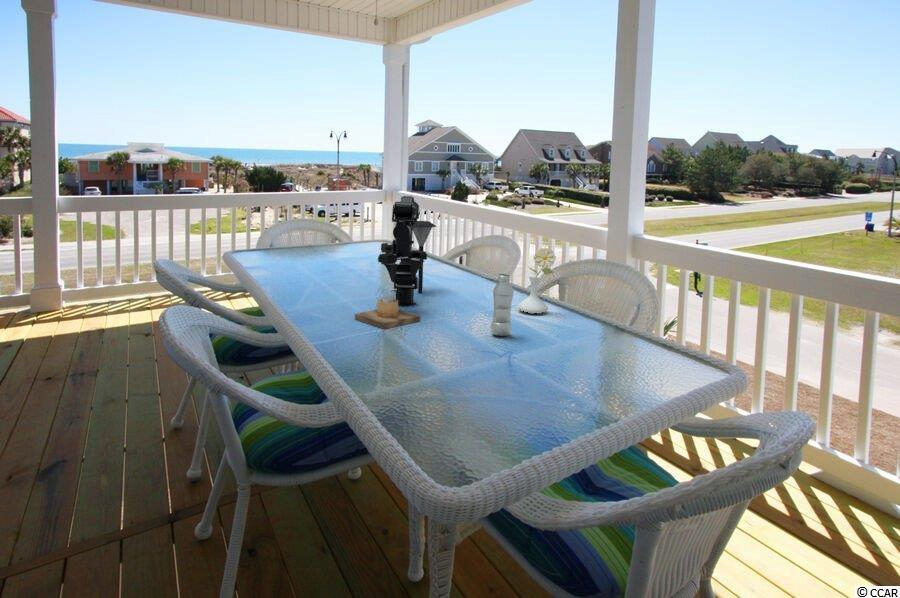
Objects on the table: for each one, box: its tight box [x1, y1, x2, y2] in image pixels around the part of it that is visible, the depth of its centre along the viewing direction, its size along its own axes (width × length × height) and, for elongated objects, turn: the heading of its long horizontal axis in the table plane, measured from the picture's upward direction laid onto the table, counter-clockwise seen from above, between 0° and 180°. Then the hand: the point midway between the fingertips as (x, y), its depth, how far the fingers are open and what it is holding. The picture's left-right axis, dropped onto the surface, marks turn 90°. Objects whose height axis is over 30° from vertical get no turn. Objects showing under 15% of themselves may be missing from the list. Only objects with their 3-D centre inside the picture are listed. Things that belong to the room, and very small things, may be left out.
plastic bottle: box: [490, 273, 515, 337], centre depth 194 cm, size 6×7×20 cm
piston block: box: [354, 297, 421, 330], centre depth 209 cm, size 16×16×8 cm
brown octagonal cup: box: [376, 298, 399, 317], centre depth 209 cm, size 7×7×5 cm
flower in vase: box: [517, 246, 557, 314], centre depth 225 cm, size 13×11×25 cm
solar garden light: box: [413, 220, 437, 294], centre depth 251 cm, size 12×12×30 cm
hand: (402, 280), depth 218 cm, fingers open, 9 cm apart
